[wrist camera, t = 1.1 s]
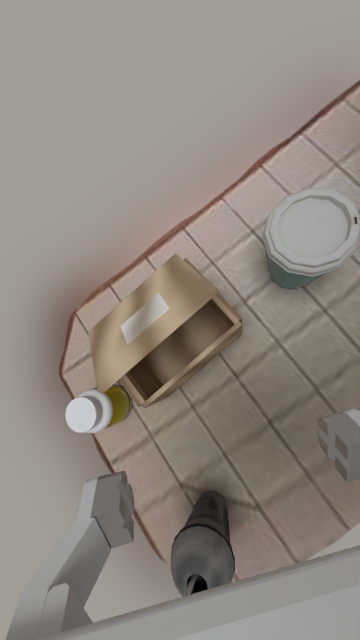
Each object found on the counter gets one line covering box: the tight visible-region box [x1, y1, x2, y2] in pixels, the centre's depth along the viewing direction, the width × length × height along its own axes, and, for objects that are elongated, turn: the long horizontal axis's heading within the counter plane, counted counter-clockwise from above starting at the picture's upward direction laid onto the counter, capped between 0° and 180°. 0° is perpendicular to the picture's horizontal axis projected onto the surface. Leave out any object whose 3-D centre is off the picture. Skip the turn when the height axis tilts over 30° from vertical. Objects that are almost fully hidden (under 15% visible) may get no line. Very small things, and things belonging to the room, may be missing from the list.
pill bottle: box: [66, 385, 132, 433], centre depth 43 cm, size 6×6×11 cm
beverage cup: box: [171, 491, 235, 597], centre depth 33 cm, size 7×7×20 cm
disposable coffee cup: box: [263, 188, 360, 289], centre depth 38 cm, size 11×11×15 cm
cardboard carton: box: [119, 257, 242, 408], centre depth 42 cm, size 17×12×12 cm
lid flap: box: [89, 254, 219, 394], centre depth 32 cm, size 16×12×1 cm
